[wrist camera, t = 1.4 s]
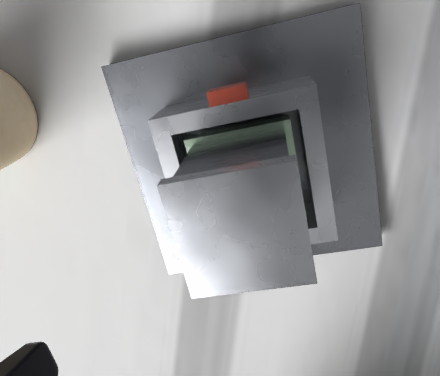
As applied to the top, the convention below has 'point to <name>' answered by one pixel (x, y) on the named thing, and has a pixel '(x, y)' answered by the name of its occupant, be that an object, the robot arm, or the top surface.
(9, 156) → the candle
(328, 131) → the stand base
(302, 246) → the column
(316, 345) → the top surface
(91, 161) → the top surface
